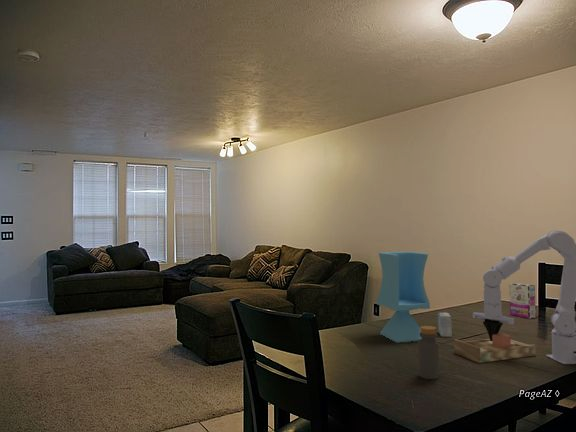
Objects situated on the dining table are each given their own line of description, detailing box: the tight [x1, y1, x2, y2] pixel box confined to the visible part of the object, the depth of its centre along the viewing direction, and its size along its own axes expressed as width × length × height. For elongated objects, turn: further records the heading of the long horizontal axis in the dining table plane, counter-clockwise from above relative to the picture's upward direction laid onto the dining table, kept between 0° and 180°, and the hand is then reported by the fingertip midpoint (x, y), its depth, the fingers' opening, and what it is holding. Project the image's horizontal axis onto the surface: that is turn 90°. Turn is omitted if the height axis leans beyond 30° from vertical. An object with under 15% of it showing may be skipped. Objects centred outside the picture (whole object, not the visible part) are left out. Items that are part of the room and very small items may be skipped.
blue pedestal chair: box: [376, 251, 431, 344], centre depth 185 cm, size 16×16×35 cm
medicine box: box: [437, 312, 453, 338], centre depth 189 cm, size 8×4×9 cm, turn 168°
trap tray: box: [453, 338, 536, 364], centre depth 160 cm, size 24×12×5 cm, turn 108°
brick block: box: [492, 333, 512, 349], centre depth 158 cm, size 4×4×4 cm
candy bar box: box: [509, 282, 537, 320], centre depth 223 cm, size 11×5×16 cm, turn 25°
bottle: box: [418, 325, 440, 380], centre depth 138 cm, size 6×6×15 cm
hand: (493, 341), depth 162 cm, fingers closed
